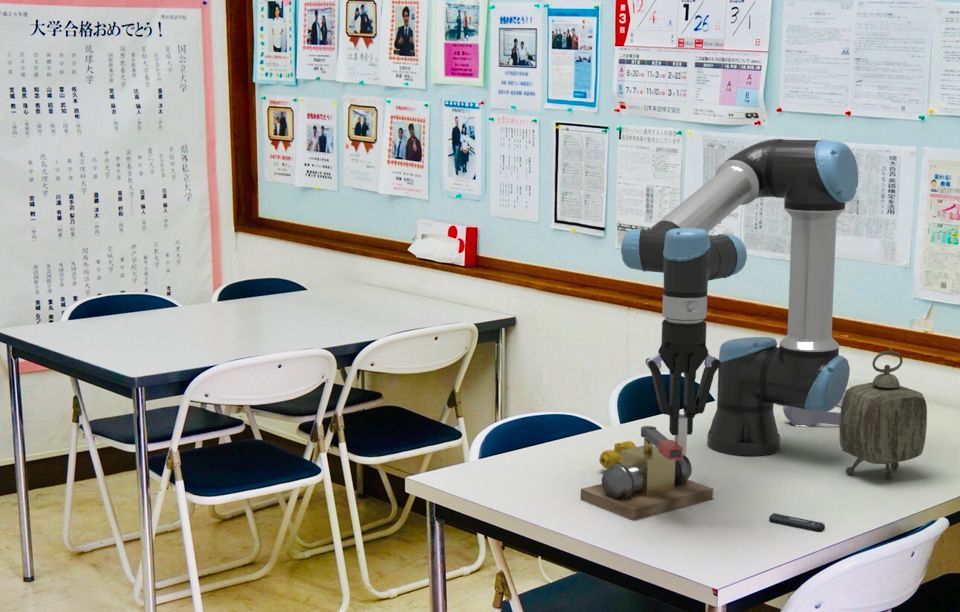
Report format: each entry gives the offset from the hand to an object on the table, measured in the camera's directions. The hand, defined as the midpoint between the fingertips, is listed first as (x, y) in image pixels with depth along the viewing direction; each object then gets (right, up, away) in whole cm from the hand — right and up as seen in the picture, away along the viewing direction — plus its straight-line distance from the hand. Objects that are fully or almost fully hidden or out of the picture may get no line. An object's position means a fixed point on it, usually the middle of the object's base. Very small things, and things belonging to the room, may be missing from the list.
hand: (680, 452), depth 214 cm
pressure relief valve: (-5, -8, +28) cm, 29 cm away
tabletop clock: (+44, -8, +26) cm, 52 cm away
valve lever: (-3, +1, +4) cm, 5 cm away
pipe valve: (-4, -9, +12) cm, 15 cm away
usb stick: (+20, -13, -1) cm, 24 cm away
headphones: (+45, 0, +72) cm, 85 cm away
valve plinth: (-4, -10, +12) cm, 16 cm away
